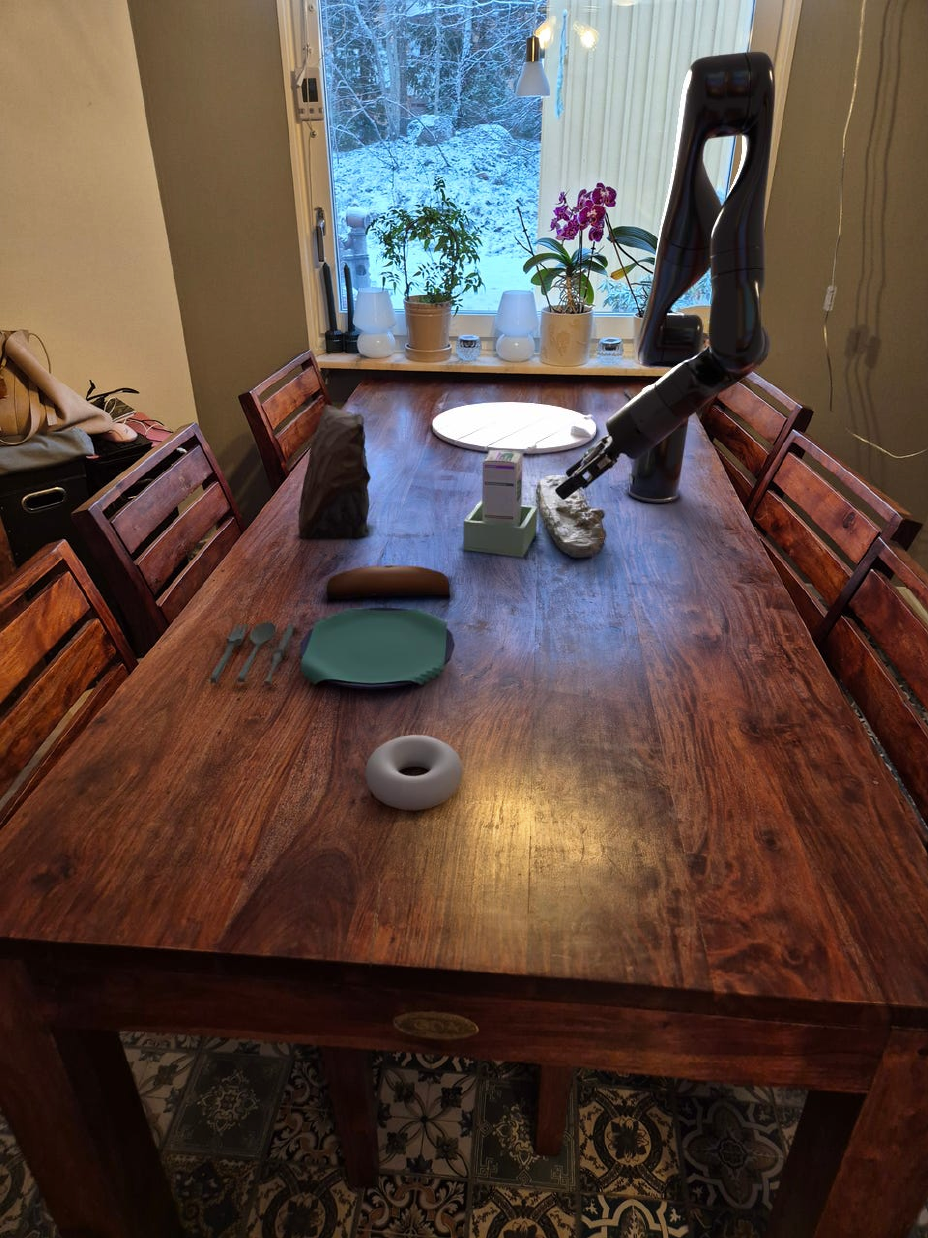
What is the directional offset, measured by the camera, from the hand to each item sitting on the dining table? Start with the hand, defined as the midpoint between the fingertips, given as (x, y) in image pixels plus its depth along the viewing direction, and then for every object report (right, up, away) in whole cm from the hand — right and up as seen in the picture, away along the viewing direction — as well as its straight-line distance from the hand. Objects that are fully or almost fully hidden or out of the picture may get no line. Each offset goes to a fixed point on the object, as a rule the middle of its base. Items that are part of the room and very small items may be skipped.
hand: (564, 485), depth 130 cm
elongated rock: (+2, -4, +16) cm, 17 cm away
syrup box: (-10, -8, +8) cm, 15 cm away
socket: (-10, -8, +8) cm, 15 cm away
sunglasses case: (-27, -17, -8) cm, 33 cm away
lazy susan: (-4, +24, +66) cm, 71 cm away
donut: (-21, -39, -46) cm, 63 cm away
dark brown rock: (-39, -6, +13) cm, 41 cm away
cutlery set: (-32, -26, -24) cm, 48 cm away
